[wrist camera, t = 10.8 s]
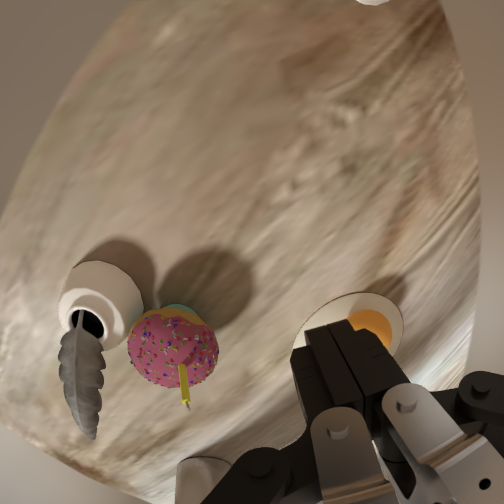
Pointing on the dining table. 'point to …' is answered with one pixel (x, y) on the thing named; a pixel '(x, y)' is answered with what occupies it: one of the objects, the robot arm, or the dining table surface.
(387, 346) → the ball
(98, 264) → the inkwell
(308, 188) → the dining table surface
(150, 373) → the cupcake
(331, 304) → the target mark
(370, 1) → the foam cup
